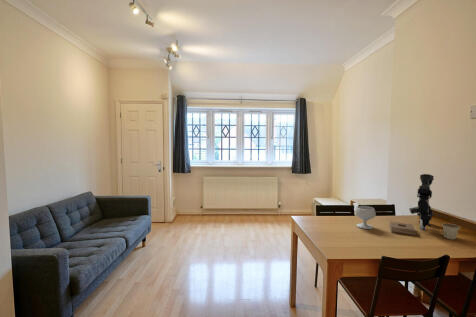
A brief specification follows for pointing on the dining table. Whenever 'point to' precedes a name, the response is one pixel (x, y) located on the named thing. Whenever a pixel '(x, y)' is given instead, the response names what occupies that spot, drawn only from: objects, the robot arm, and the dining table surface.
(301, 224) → the dining table surface
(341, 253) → the dining table surface
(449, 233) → the flower pot
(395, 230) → the bore block
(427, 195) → the robot arm
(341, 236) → the dining table surface
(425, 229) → the pin
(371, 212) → the chalice
